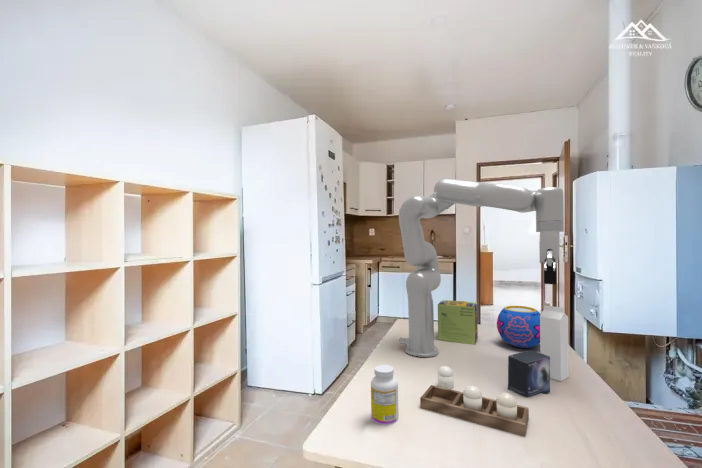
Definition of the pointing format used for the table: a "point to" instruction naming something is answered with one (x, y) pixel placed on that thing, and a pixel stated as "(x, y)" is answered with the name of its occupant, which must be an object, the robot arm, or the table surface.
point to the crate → (453, 406)
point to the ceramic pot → (519, 326)
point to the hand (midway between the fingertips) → (550, 281)
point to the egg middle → (472, 398)
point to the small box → (529, 373)
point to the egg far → (507, 406)
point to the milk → (555, 341)
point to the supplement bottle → (384, 396)
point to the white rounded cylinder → (445, 378)
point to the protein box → (457, 321)
